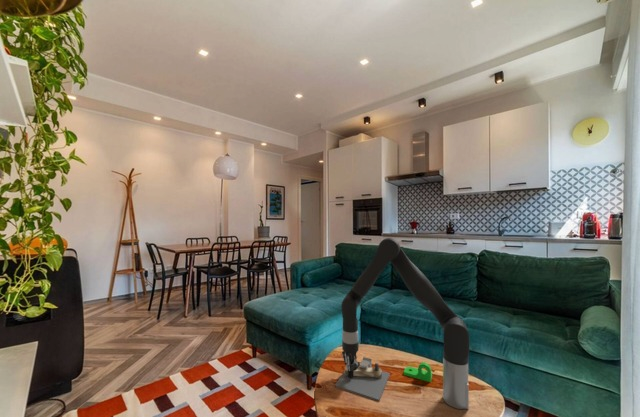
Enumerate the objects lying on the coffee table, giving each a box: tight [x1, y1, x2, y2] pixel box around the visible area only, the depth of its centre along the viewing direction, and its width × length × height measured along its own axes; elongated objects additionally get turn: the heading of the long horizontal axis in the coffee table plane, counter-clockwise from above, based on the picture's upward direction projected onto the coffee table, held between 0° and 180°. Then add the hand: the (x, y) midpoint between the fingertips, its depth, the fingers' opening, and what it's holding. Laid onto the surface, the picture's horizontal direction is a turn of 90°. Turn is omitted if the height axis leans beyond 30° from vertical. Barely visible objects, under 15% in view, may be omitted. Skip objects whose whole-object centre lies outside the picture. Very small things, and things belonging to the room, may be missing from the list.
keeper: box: [359, 356, 373, 369], centre depth 129 cm, size 4×8×4 cm, turn 153°
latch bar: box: [344, 362, 383, 378], centre depth 126 cm, size 17×4×5 cm, turn 86°
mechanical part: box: [403, 361, 433, 383], centre depth 127 cm, size 12×6×8 cm, turn 61°
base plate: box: [334, 370, 391, 402], centre depth 123 cm, size 20×20×1 cm
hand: (350, 377), depth 123 cm, fingers closed
